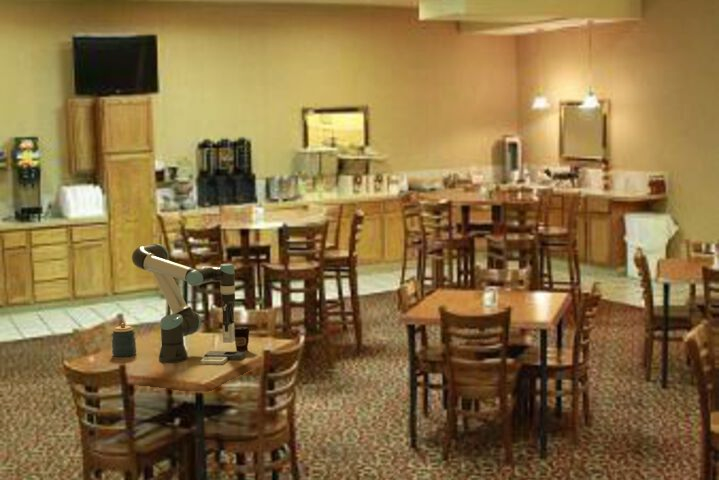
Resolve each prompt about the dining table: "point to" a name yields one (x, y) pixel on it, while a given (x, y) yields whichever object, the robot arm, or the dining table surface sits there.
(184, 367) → the dining table surface
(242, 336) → the coffee cup
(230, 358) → the grey flat slab
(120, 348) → the canister
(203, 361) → the parts tray
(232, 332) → the nut block
